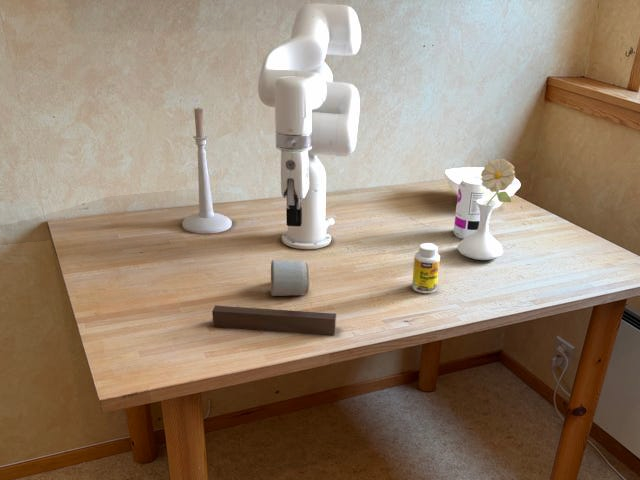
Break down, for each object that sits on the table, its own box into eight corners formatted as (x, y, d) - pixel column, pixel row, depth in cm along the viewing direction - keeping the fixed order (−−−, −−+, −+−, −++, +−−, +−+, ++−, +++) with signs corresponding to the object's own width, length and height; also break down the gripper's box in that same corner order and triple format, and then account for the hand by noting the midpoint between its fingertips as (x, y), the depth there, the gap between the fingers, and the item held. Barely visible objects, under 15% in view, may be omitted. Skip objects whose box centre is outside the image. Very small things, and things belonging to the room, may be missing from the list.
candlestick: (172, 224, 182) (160, 105, 166) (211, 213, 190) (202, 99, 175) (202, 237, 175) (192, 115, 159) (241, 225, 183) (235, 108, 168)
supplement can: (449, 237, 183) (456, 182, 175) (458, 228, 189) (464, 174, 182) (479, 243, 180) (487, 187, 173) (487, 233, 187) (494, 178, 179)
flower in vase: (447, 252, 174) (458, 152, 161) (479, 243, 180) (492, 146, 167) (484, 270, 165) (499, 166, 152) (516, 260, 172) (533, 160, 159)
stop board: (216, 320, 137) (215, 305, 136) (335, 329, 137) (336, 313, 135) (213, 326, 135) (212, 311, 133) (334, 335, 135) (335, 319, 133)
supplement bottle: (415, 295, 152) (419, 251, 147) (409, 284, 156) (412, 242, 151) (439, 293, 153) (444, 250, 148) (432, 283, 158) (436, 241, 152)
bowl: (434, 195, 213) (437, 167, 209) (496, 193, 218) (500, 166, 214) (457, 218, 196) (461, 188, 192) (524, 215, 201) (529, 186, 197)
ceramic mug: (311, 300, 147) (311, 266, 143) (272, 301, 146) (271, 268, 142) (305, 280, 156) (305, 248, 152) (269, 281, 154) (268, 249, 151)
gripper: (306, 150, 137) (306, 237, 146) (316, 133, 150) (315, 215, 159) (269, 147, 137) (271, 235, 146) (281, 131, 150) (282, 213, 159)
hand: (294, 224), depth 153 cm, fingers closed
